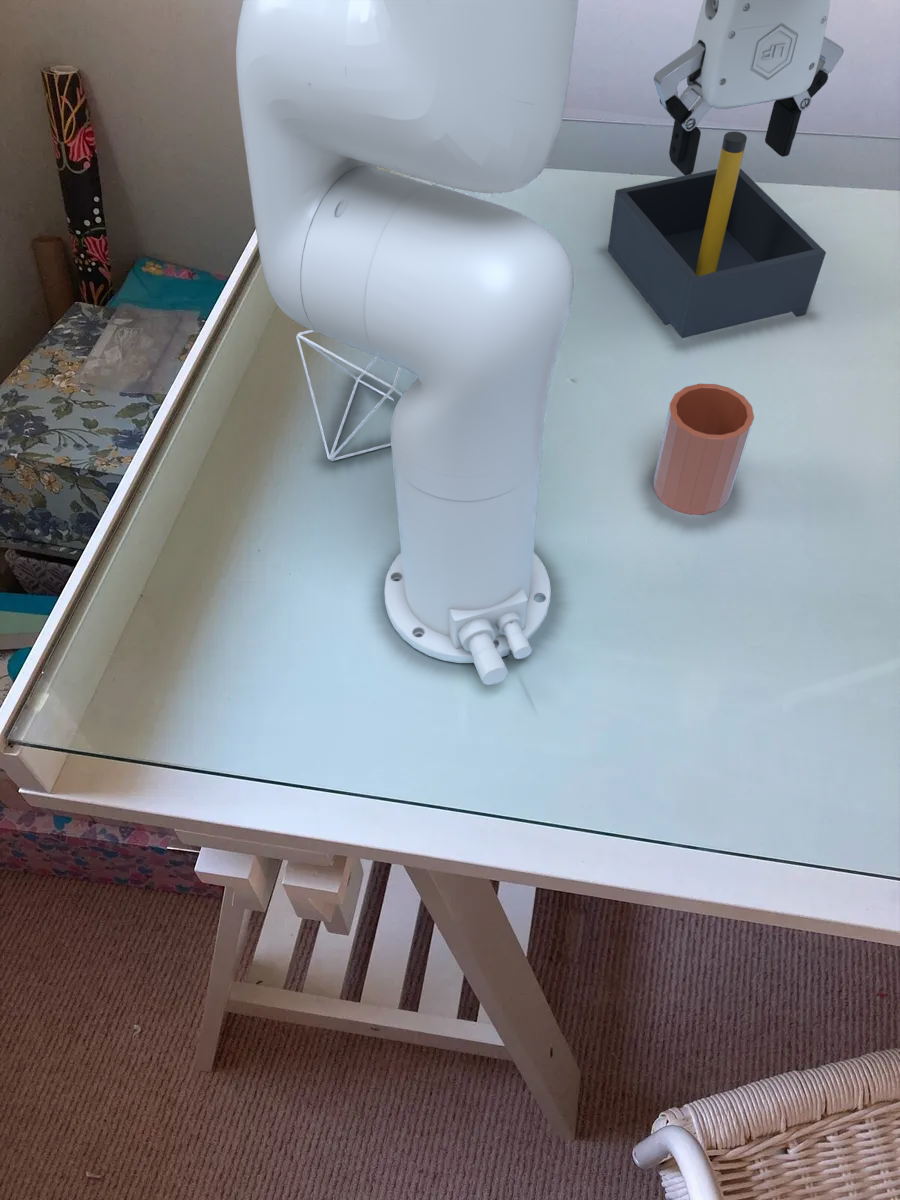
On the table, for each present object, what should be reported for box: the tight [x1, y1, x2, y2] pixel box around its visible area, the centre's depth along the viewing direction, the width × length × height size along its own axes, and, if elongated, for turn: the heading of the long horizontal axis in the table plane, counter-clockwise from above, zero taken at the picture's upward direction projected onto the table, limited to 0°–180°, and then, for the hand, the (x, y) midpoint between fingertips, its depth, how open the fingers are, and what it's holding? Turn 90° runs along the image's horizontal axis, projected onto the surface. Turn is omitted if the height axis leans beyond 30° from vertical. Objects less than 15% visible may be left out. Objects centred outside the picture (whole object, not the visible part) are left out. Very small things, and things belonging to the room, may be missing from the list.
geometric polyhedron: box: [295, 329, 404, 462], centre depth 82 cm, size 12×11×9 cm
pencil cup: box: [653, 383, 755, 516], centre depth 76 cm, size 6×6×9 cm
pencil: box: [695, 131, 748, 276], centre depth 91 cm, size 2×2×14 cm
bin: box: [607, 168, 827, 339], centre depth 95 cm, size 17×14×7 cm
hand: (729, 158), depth 87 cm, fingers open, 9 cm apart
